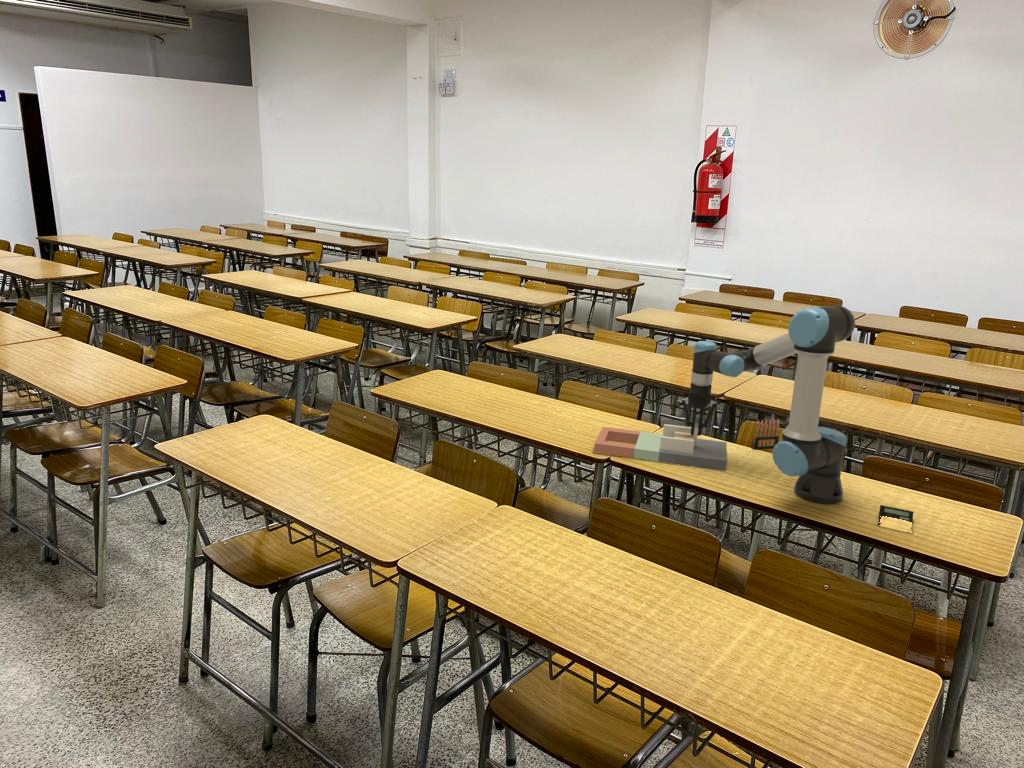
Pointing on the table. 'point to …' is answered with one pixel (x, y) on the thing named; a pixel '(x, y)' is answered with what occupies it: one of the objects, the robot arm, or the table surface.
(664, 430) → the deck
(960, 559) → the table surface
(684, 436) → the block
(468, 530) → the table surface
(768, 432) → the ammunition clip
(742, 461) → the table surface
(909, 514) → the calculator
